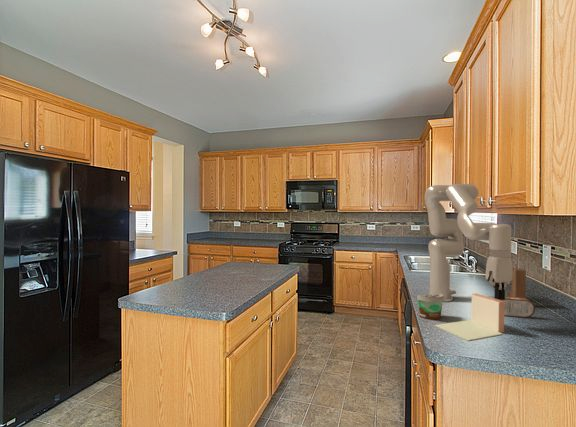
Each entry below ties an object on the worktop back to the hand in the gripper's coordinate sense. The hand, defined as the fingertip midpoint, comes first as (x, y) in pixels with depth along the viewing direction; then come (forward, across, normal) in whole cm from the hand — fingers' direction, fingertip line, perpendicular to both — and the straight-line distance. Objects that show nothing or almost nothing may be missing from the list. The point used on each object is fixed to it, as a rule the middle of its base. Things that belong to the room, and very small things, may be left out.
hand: (499, 298), depth 127 cm
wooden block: (+11, -36, -18) cm, 42 cm away
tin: (+11, -17, -6) cm, 21 cm away
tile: (+11, +6, -1) cm, 13 cm away
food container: (+11, +19, -15) cm, 27 cm away
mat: (+11, +17, -1) cm, 20 cm away
